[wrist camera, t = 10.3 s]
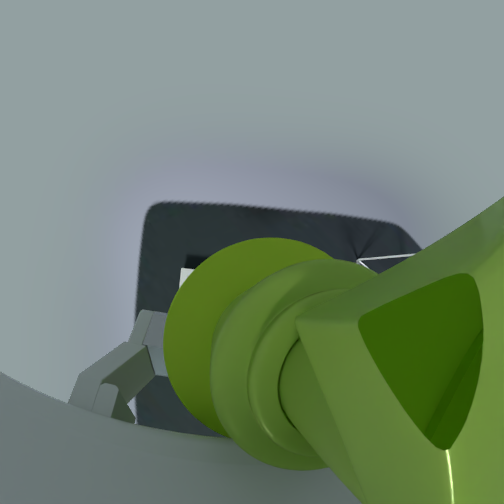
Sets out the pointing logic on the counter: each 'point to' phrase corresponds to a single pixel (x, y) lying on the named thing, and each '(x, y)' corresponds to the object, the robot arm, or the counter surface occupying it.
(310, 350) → the soap dispenser
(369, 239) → the counter surface
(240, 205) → the counter surface
